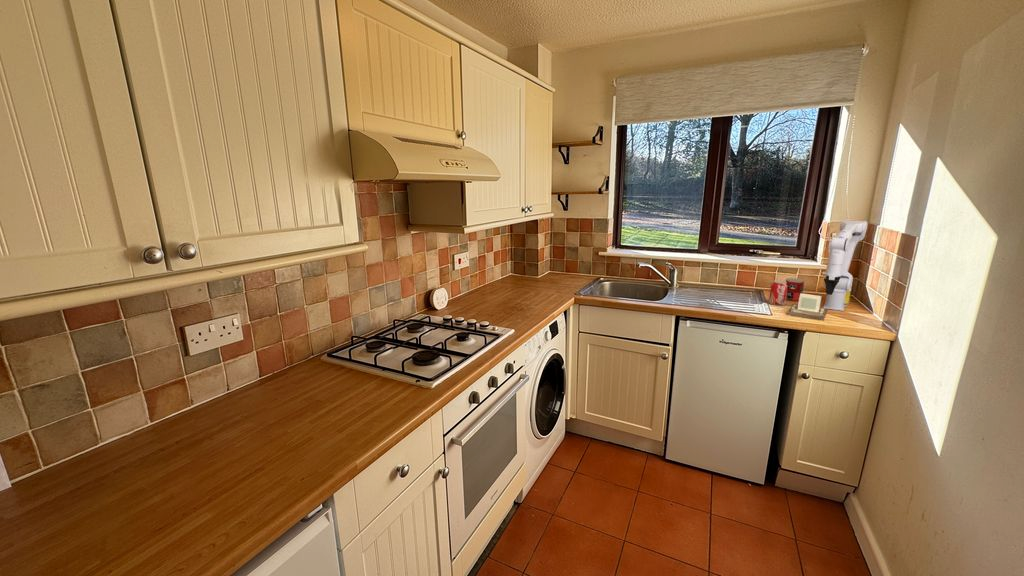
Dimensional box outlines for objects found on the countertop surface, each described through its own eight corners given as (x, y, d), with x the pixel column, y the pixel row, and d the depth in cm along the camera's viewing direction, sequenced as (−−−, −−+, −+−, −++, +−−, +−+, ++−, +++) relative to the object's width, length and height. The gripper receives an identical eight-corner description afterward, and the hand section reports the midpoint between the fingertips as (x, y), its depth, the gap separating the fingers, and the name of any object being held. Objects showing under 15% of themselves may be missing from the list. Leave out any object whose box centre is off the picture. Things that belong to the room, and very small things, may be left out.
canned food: (779, 298, 223) (782, 278, 221) (795, 298, 223) (798, 278, 220) (788, 301, 216) (791, 281, 213) (804, 301, 215) (807, 281, 213)
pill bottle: (848, 307, 206) (852, 284, 203) (832, 304, 210) (836, 282, 207) (848, 304, 211) (852, 281, 208) (832, 302, 215) (836, 280, 212)
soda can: (771, 306, 209) (774, 282, 206) (766, 302, 215) (769, 279, 212) (787, 306, 207) (790, 283, 204) (781, 303, 214) (785, 280, 211)
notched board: (793, 305, 209) (793, 300, 209) (827, 310, 200) (828, 305, 200) (786, 314, 194) (787, 309, 194) (823, 320, 186) (824, 315, 185)
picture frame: (798, 308, 200) (801, 292, 198) (818, 312, 195) (821, 295, 193) (796, 311, 196) (799, 295, 195) (817, 314, 191) (820, 297, 189)
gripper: (825, 261, 197) (820, 288, 200) (822, 264, 186) (817, 294, 190) (844, 262, 193) (838, 291, 196) (842, 266, 182) (836, 296, 185)
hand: (829, 292), depth 192 cm, fingers open, 7 cm apart
